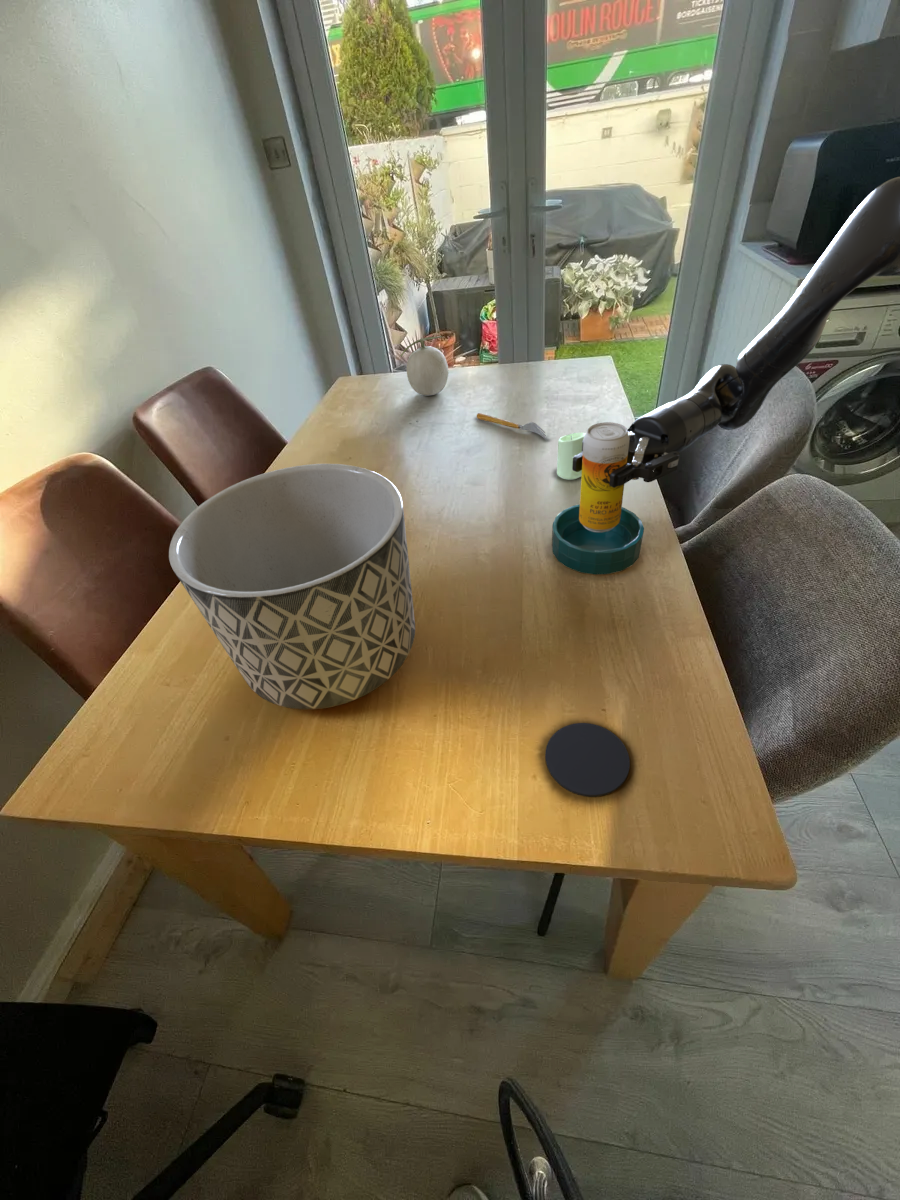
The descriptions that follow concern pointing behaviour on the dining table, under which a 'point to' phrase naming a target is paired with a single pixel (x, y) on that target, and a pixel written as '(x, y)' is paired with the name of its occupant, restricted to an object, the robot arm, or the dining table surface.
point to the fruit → (427, 369)
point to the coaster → (587, 759)
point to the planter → (303, 581)
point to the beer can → (602, 476)
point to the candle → (569, 455)
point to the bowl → (596, 543)
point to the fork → (512, 424)
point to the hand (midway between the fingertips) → (592, 472)
